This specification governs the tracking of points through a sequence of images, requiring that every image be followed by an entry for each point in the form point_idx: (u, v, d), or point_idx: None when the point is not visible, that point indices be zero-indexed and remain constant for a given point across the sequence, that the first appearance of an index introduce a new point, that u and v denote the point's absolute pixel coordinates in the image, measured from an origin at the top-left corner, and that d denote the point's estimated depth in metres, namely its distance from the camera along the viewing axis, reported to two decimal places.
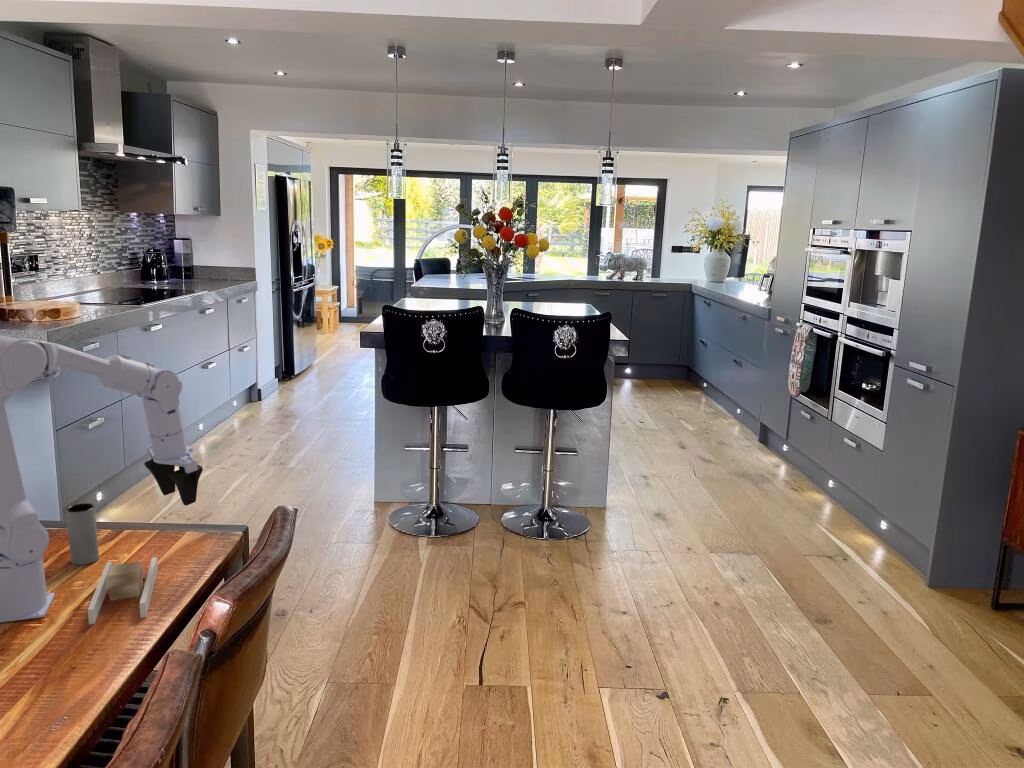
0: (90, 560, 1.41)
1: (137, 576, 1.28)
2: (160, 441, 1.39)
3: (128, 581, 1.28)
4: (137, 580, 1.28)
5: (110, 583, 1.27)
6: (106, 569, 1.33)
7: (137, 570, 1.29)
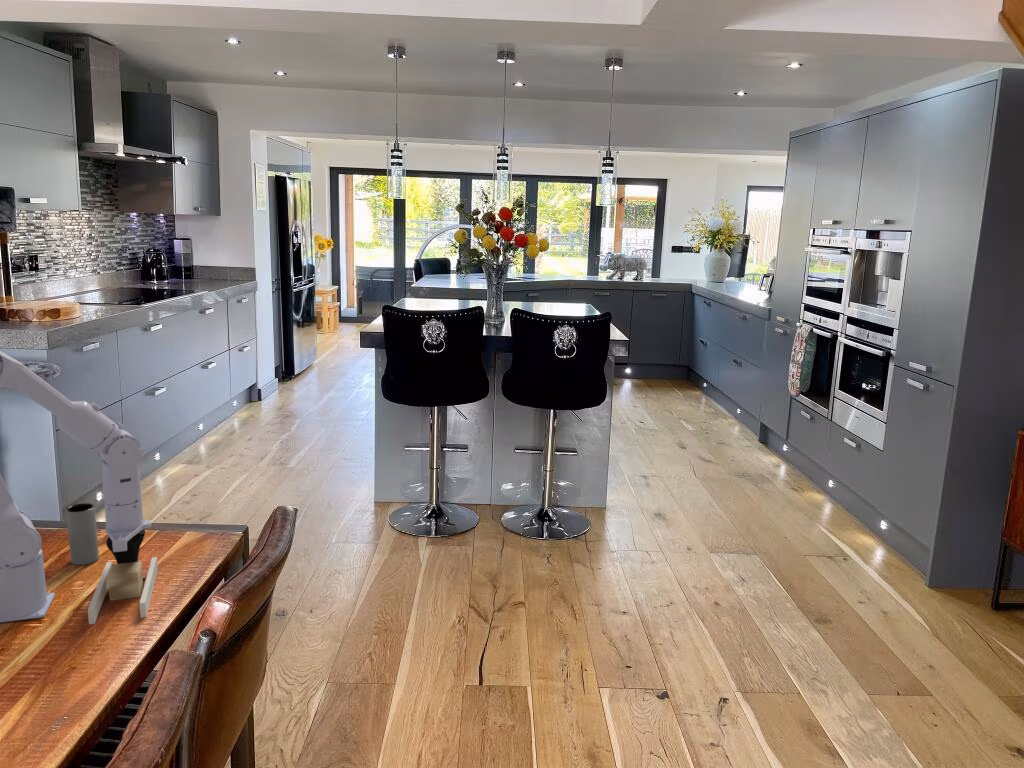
0: (90, 560, 1.41)
1: (137, 576, 1.28)
2: (107, 509, 1.28)
3: (128, 581, 1.28)
4: (137, 580, 1.28)
5: (110, 583, 1.27)
6: (106, 569, 1.33)
7: (137, 570, 1.29)
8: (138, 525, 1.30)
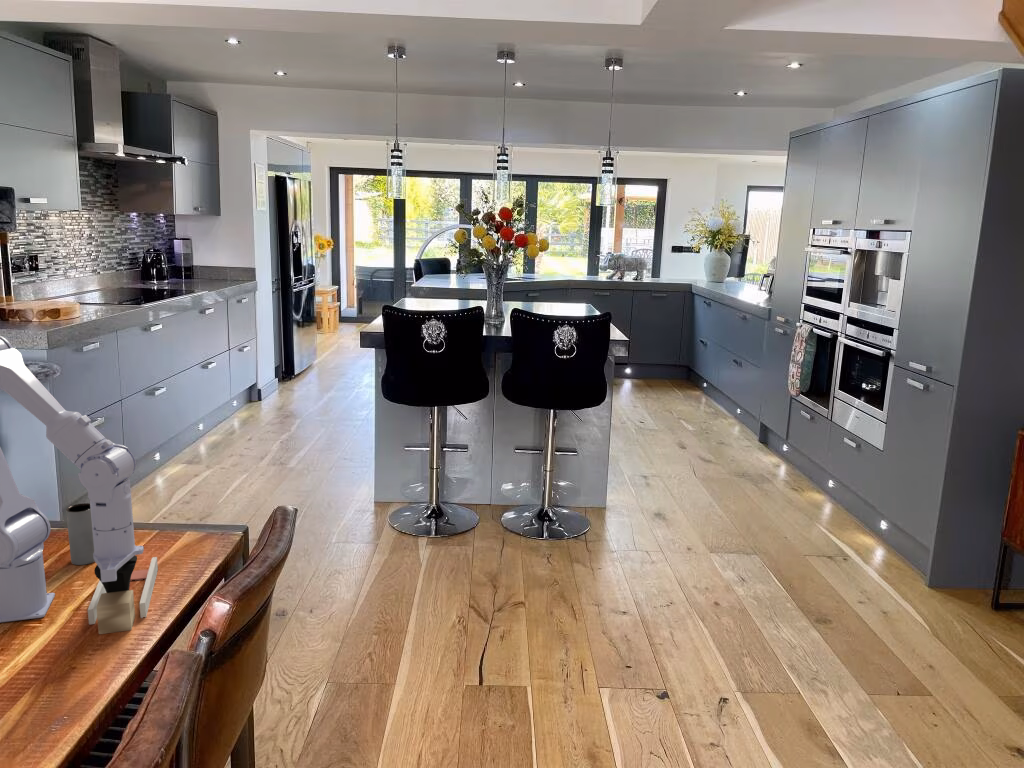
0: (90, 560, 1.41)
1: (128, 607, 1.18)
2: (95, 535, 1.18)
3: (118, 612, 1.17)
4: (128, 611, 1.18)
5: (99, 615, 1.16)
6: None
7: (128, 600, 1.18)
8: (129, 551, 1.20)
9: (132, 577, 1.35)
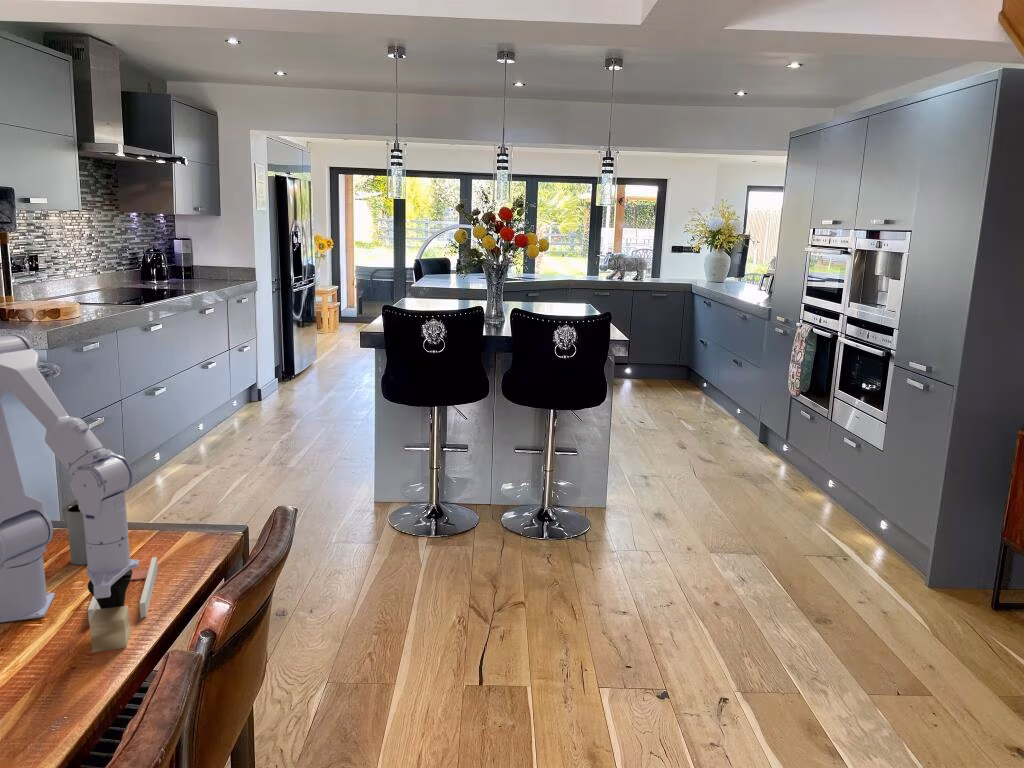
0: None
1: (123, 624, 1.13)
2: (88, 548, 1.13)
3: (113, 629, 1.12)
4: (123, 628, 1.13)
5: (92, 632, 1.11)
6: None
7: (123, 617, 1.13)
8: (124, 566, 1.15)
9: (132, 577, 1.35)
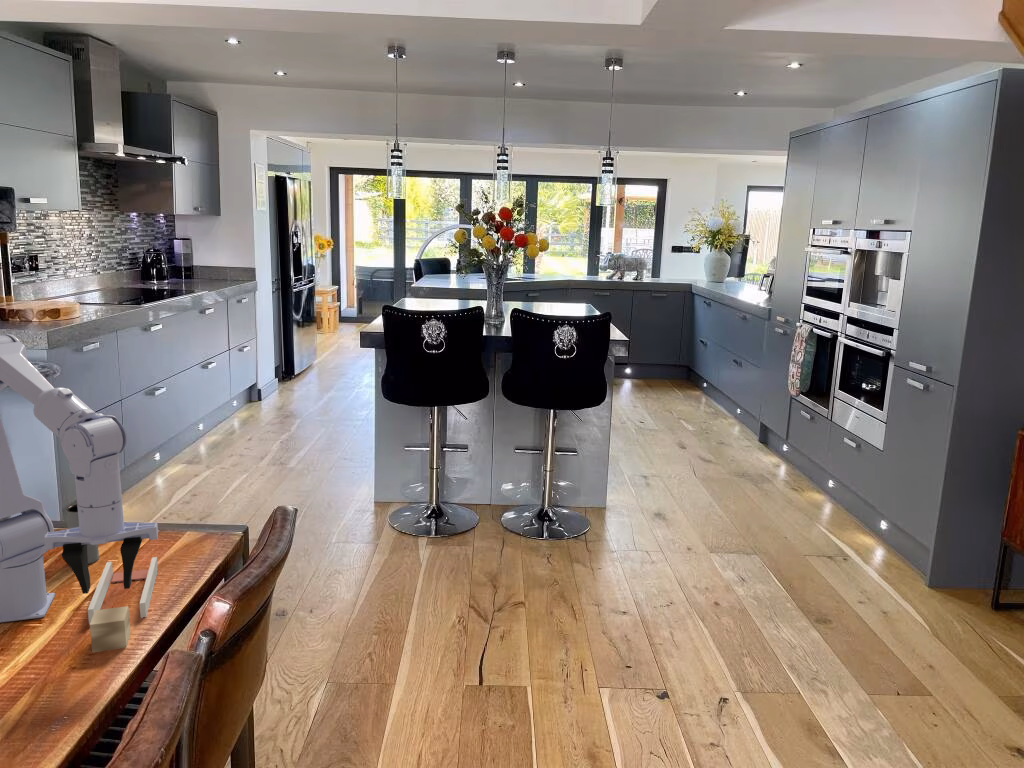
0: (90, 560, 1.41)
1: (123, 624, 1.13)
2: None
3: (113, 630, 1.12)
4: (123, 629, 1.13)
5: (92, 633, 1.11)
6: (106, 569, 1.33)
7: (123, 617, 1.13)
8: (85, 535, 1.09)
9: (132, 577, 1.35)
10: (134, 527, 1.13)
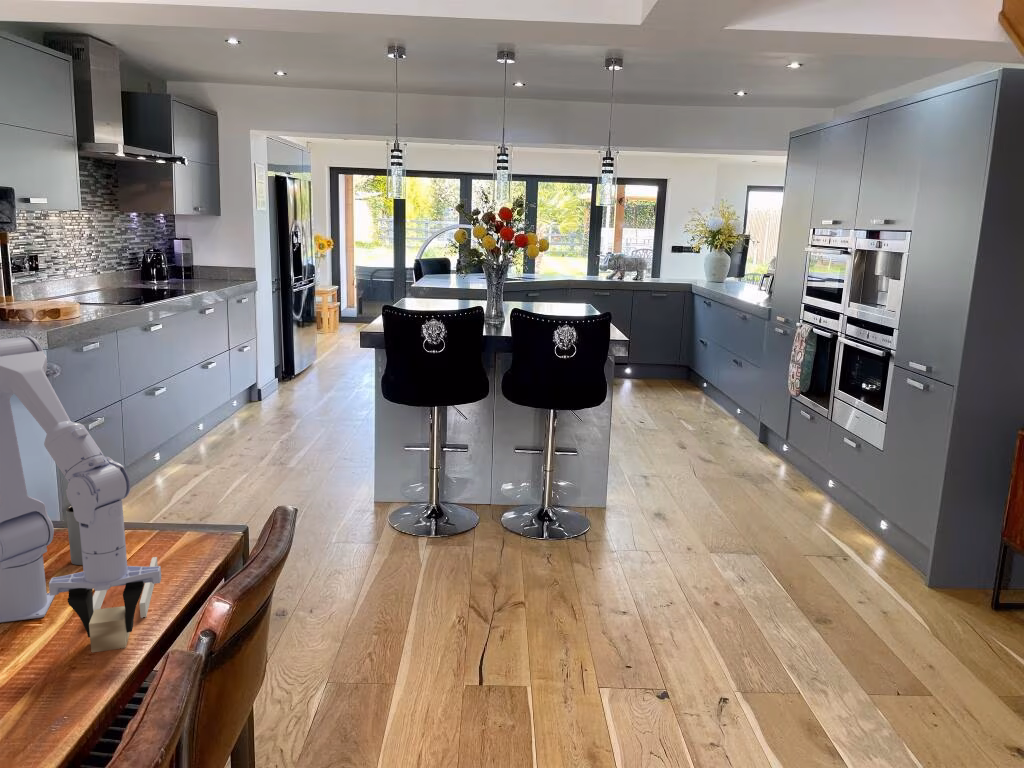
0: None
1: (122, 624, 1.13)
2: None
3: (112, 629, 1.12)
4: (122, 628, 1.13)
5: (91, 632, 1.11)
6: None
7: (122, 617, 1.13)
8: (90, 581, 1.10)
9: None
10: (137, 571, 1.14)
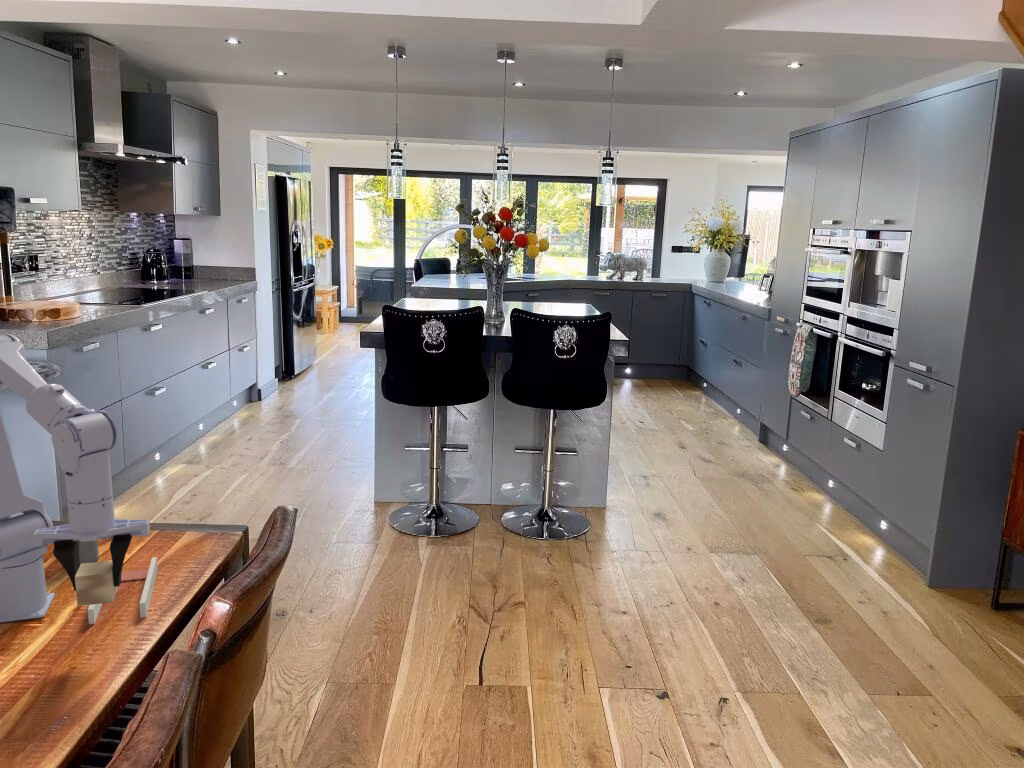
0: (90, 560, 1.41)
1: (109, 577, 1.10)
2: None
3: (99, 583, 1.09)
4: (109, 582, 1.10)
5: (77, 585, 1.09)
6: None
7: (109, 570, 1.10)
8: (76, 532, 1.08)
9: (132, 577, 1.35)
10: (125, 524, 1.12)
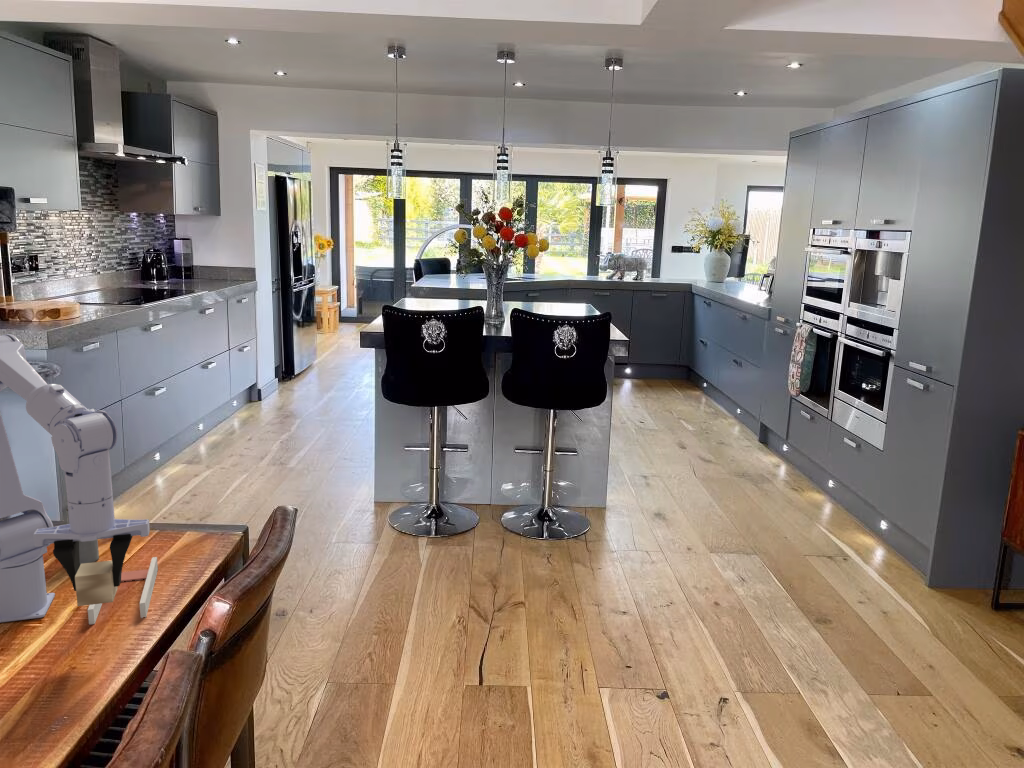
0: (90, 560, 1.41)
1: (109, 577, 1.10)
2: None
3: (99, 583, 1.09)
4: (109, 582, 1.10)
5: (77, 585, 1.09)
6: None
7: (109, 570, 1.10)
8: (76, 532, 1.08)
9: (132, 577, 1.35)
10: (125, 524, 1.12)
